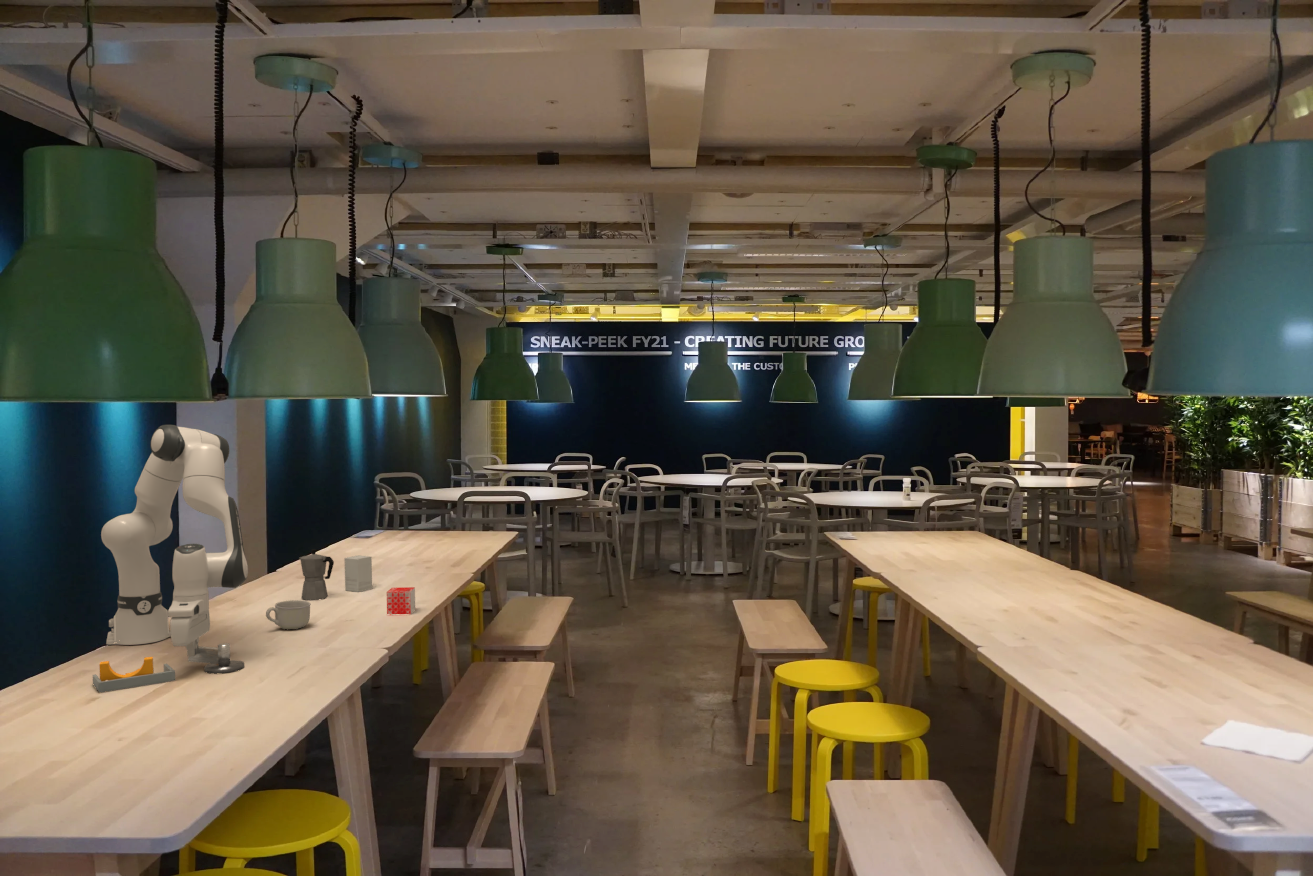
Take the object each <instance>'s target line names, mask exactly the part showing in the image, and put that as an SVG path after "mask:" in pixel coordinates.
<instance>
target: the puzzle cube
mask: <svg viewBox="0 0 1313 876" xmlns="http://www.w3.org/2000/svg"><path fill="white" fill-rule="evenodd" d="M414 610H415V611H416V587H413V586H411V587H410V586H409V587H408V586H407V587H391V588H389V590H387V591H386V615H387V614H411V613H412V612H413V611H414ZM415 611H414V612H415ZM414 612H413V613H414ZM413 613H412V614H413ZM412 614H411V615H412Z"/></svg>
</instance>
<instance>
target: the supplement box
mask: <svg viewBox="0 0 1313 876" xmlns="http://www.w3.org/2000/svg"><path fill="white" fill-rule="evenodd" d="M372 559H373V558H372V556H369V555H367V556H366V555H354V556H347V557H344V559H343V561H344V589H345V591H346V592H354V591H355V592H354V593H360V591H361V592H366V591H369V590H372V589H373V568H372V567H373V566H372V562H373V561H372Z"/></svg>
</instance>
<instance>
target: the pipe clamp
mask: <svg viewBox="0 0 1313 876" xmlns="http://www.w3.org/2000/svg"><path fill="white" fill-rule="evenodd" d="M154 670H155V669H154V656H147V657H144V659H143V663H142V665H141V667H140V668H137V669H136V670H134V671H132V672H127V673H125V674H120V673H118V672H116V671H114V670H113V668H112V667H111V664H110V661H109V660H107V661H105V660H104V661H100V662H99V679H100V680H101V681H108V680H115V679H121V678H128V677H134V676H140V675H147V674H153V673H155V672H154Z"/></svg>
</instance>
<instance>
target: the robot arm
mask: <svg viewBox="0 0 1313 876" xmlns="http://www.w3.org/2000/svg"><path fill="white" fill-rule="evenodd" d="M150 439H151V440H150V450H151V453H150V455H149V457H148V459H147V461H146V462H145V464H144V467H143V469H142V471H141V474H140V476H139V477H138V481H137V482H136V485H135V487H134V495H135V496H136V505H135V508H134V510H133V511H132V512H131V513H125V514H121V515H118V516H116V517H114V518H112V519H110V520H108V521H106V523H105V524H104V525H103V527H102V528H101V532H100V533H101V534H100V536H101V537H100V538H101V542H102V544H103V545H104V546H105V547H106V548H107V549H109V550H110V552H111V553H112V556H113V558H114V561H115V565H116V567H117V573H118V590H119V591H118V595H117V611H116V612H115V615H114V616H113V618H110V619H108V627H109V628H111V631H108V632H107V636H106V637H107V638H106V643H105V644H106V645H122V646H123V645H124V646H129V645H130V646H132V645H134V646H135V645H145V644H151V643H156V642H160V641H163V640H166V639H167V638H169V637H170V638H171V643H172V646H173V647H185V649H186V655H187V658H188V657H193V656H195V655H196V654H197V647H198V646H199V643H200V638H201V637H202V636H204V635H205V634H207V633H208V632H209V631H210V630H211V617H210V610H209V609H210V594H209V588H228V589H229V588H230V589H231V588H232V589H236V588H239V586H241V585H242V584H243V583H244V582H245V581H247V579H248V574H249V566H248V561H247V559H246V555H245V554H246V553H245V549H244V542H243V535H242V528H241V522H240V517H239V511H238V506H237V504H236V501H235V499H234V497H232V496H230V495H229V494H228V493H227V490H226V487H225V486H226V485H225V484H226V479H225V478H226V472H225V471H226V470H225V469H226V468H225V463H226V462H227V460H229V459H228V458H229V456H230V455H229V454H230V445H229V441H228V440H227V439H226V438H225V437H223V436H221V435H219V434H216V433H214V434H212V433H211V432H208V431H204V430H202V429H201V430H200V429H198V428H190V427H184V426H178V425H175V424H162V425H160V426H158V428H156V429H155V430H154V432H153V434H152V436H151V438H150ZM181 483H182V487H181V488H182V498H183V500H184V501H185V503H186V504H187V505H188V506H189V507H190V508H192V509H193V510H195V511H197V512H198V513H201V514H204V515H208V516H210V517H213V518H217V519H218V520H220V521H221V522H222V523H223V528H224V532H225V540H226V548H227V549H226V550H225V551H224V552H206V548H205V546H204V545H203V544H199V543H187V544H183V545H182V544H181V545H180V546H177V547H176V548H175V549H174V551H173V552H174V553H173V558H172V560H173V561H172V569H171V570H172V571H171V572H172V583H173V586H174V589H173V591H172V602H171V605H170V606H169V609H166V608H165V607H164V606H163V605H162V604H163V595H162V592H161V584H160V583H161V581H160V580H161V579H160V567H159V565H158V564H157V563H156V562H155V561H154V559H153V557H152V555H151V552H150V551H151V550H150V547H151V546H155V545H158V544H160V543H161V542H163V541H165V540H166V539H168V538H169V537H170V535H171V534H172V531H173V526H174V524H173V520H172V518H171V514H172V513H171V511H172V505H173V503H174V500H175V497H176V494H177V492H178V490H179V488H180V486H181ZM169 618H170V622H169ZM119 640H120V641H119ZM114 642H117V643H115V644H113V643H114Z"/></svg>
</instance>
